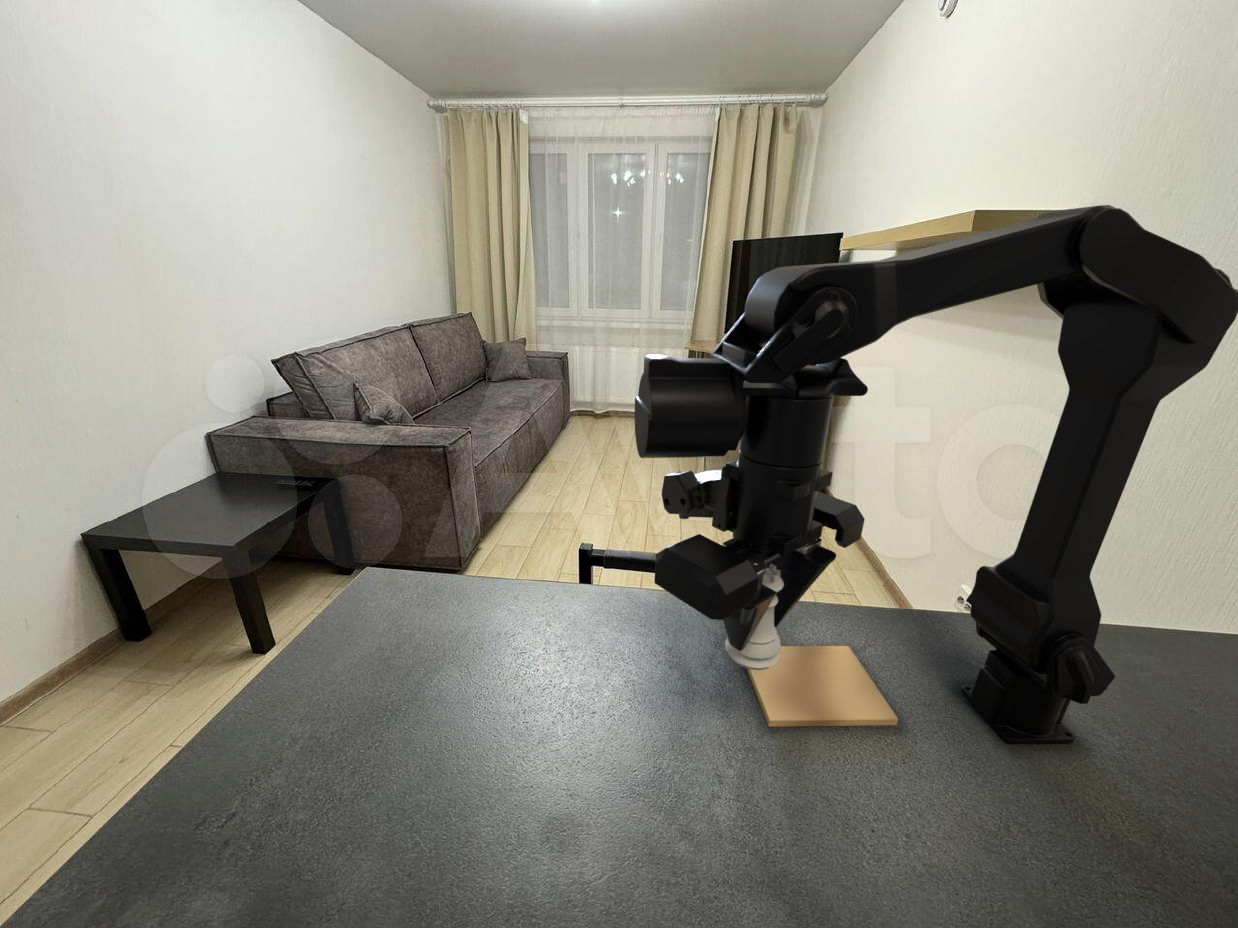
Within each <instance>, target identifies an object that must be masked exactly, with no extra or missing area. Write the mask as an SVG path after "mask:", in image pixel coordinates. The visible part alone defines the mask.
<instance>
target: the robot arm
mask: <svg viewBox="0 0 1238 928" xmlns="http://www.w3.org/2000/svg"><path fill="white" fill-rule="evenodd" d="M1035 285H1036V288H1037V291H1038V295H1039V300H1040V301H1041V303H1043V304H1044V305H1045V306H1046V307H1047V308H1049V309H1050V310H1051V311H1052V312H1053V313H1054V314H1056V315H1057V317H1059V318H1060V319H1061V320H1062V322H1061V328H1060V333H1059V340H1058V346H1057V354H1058V357H1059V360H1060V361H1059V362H1060V363H1061V367H1062V371H1063V373H1064V376H1065V379H1066V382H1067V385H1068V394H1067V397H1066V400H1065V403H1064V406H1063V409H1062V412H1061V414H1060V418H1059V421H1058V424H1057V427H1056V430H1055V433H1054V435H1053V439H1052V441H1051V443H1050V444H1051V445H1050V447H1049V451H1048V454H1047V456H1046V459H1045V462H1044V465H1043V468H1042V471H1041V474H1040V478H1039V480H1038V483H1037V486H1036V490H1035V492H1034V494H1033V497H1032V500H1031V504H1030V507H1029V510H1028V512H1027V513H1028V514H1027V516H1026V519H1025V522H1024V523H1023V528H1022V531H1021V533H1020V536H1019V539H1018V542H1017V546H1016V548H1015V549H1014V552H1013V553H1012V554H1011V555H1010V556H1008V557H1006V558H1005V559H1004V560H1002V561H1000V562H999V563H997V564H995V565H994V566H988V565H982V566H980V567H979V568H978V569H977V571H976V575H975V582H974V586H973V588H972V589H971V593H970V594H969V595H968V597H967V598H966V599H965V602H966V603H968V604H969V605H970V611H969V612H970V613H969V614H970V617H971V618H972V619H973V621H974V622H975V630H976V634H977V636H979V637H980V638H983V639H984V640H985V641H986V642H987V643H989V644H990V645H991V646H992V647H993V648H994V649H990V650H989V651H988V654H987V655H986V656H987V657H986V660H985V663H984V665H981V666H980V668H979V671H978V675H977V677H976V680H975V683H974V684H973V685H972V684H969V685H968V684H964V685H962V686H961V689H960V690H961V693H962V695H964V696H965V697H966V699H967V700H968V701H969V702H970V703H971V704H972V705H973V706H974V708H975V709H976V710H977V711H978V712H979V713H980V715H981V716H982V717H983V718H984V719H985V721H986V722H987V723H988V724H989V725H990V726H991V727H992V728H993V730H994V731H995V732H996V733H997V734H998V735H999V736H1000V737H1001V738H1002V740H1003V741H1005V742H1006V743H1009V744H1063V743H1064V744H1065V743H1067V744H1068V743H1070V744H1071V743H1074V742H1075V739H1076V735H1075V734H1074V733H1073V732H1072V731H1071V730H1070V729H1068V727H1067V726H1066V725H1064V724H1063V723H1062V722H1063V719H1064V718H1065V716H1066V713H1067V710H1068V707H1069V706H1070V704H1071V701H1072V702H1075V703H1077V704H1080V705H1084V704H1085V705H1089V702H1090V700H1091V697H1099V696H1101V695H1102V694H1103V693H1104V692H1105V691H1106V690H1107V689H1108V687H1109V686H1110V685H1111V683H1112V682H1113V681H1114V680H1115V678H1116V675H1115V673H1114V672H1113V671H1112V669H1111V668H1110V666H1109V665H1108V664H1107V662H1106V661H1105V660H1104V658H1103V657H1102V656H1101V654H1100V653H1099V652H1098V650H1097V649H1096V647H1095V645H1096V641H1097V637H1098V634H1099V633H1098V631H1099V628H1100V623H1101V619H1102V612H1101V611H1102V610H1101V609H1100V605H1099V602H1098V599H1097V596H1096V592H1095V589H1094V586H1093V582H1092V580H1091V573H1092V571H1093V568H1094V565H1095V562H1096V560H1097V557H1098V555H1099V552H1100V550H1101V548H1102V545H1103V543H1104V540H1105V537H1106V535H1107V533H1108V531H1109V529H1110V528H1109V527H1110V525H1111V522H1112V520H1113V518H1114V515H1115V513H1116V510H1117V508H1118V505H1119V503H1120V500H1121V498H1122V495H1123V492H1124V490H1125V488H1126V485H1127V482H1128V480H1129V477H1130V475H1131V474H1132V473H1131V472H1132V470H1133V467H1134V465H1135V463H1136V460H1137V457H1138V455H1139V452H1140V450H1141V448H1142V445H1143V442H1144V440H1145V437H1146V435H1147V432H1148V430H1149V429H1150V428H1149V427H1150V426H1151V422H1152V420H1153V417H1154V415H1155V412H1156V410H1157V408H1158V406H1159V404H1160V402H1161V400H1163V399H1165V398H1166V397H1167V396H1168V395H1170V394H1171V393H1173V392H1174V391H1176V390H1178V388H1179V387H1181V386H1182V385H1184V384H1185V383H1187V382H1188V381H1189V380H1190V379H1192V378H1193V377H1195V376H1196V375H1197V374H1199V373H1200V372H1201V371H1203V370H1204V369H1205V368H1206V367H1207V366H1208V365H1209V363H1210V362H1211V360H1212V358H1213V356H1214V354H1215V353H1216V351H1217V350H1218V348H1219V346H1220V344H1221V343H1222V341H1223V339H1224V337H1225V335H1226V334H1227V332H1228V331H1229V329H1230V327H1232V325H1233V323H1234V322H1235V321H1236V318H1237V316H1238V288H1235V287H1233V284H1232V281H1231V279H1230V276H1228V274H1226V272H1224V271H1223V270H1222V269H1220V268H1216V267H1214V266H1213V265H1212V264H1211V263H1210V262H1209V261H1208V260H1207V258H1206V257H1205V256H1203V255H1202V254H1199V253H1198V252H1196V251H1193V250H1191V249H1189V248H1187V247H1185V246H1182V245H1180V244H1178V243H1176V242H1173V241H1171V240H1169V239H1166V238H1165V237H1162V236H1160V235H1158V234H1156V233H1153V232H1151V231H1149V230H1147V229H1145V228H1144V227H1143V226H1142V225H1141V224H1140V223H1139V222H1137V220H1136V219H1135V218H1134V217H1133V216H1132V215H1131V214H1130V213H1129V212H1127V211H1125V210H1124V209H1122V208H1117V207H1115V206H1112V205H1110V204H1101V205H1091V206H1083V207H1075V208H1068V209H1067V208H1066V209H1059V210H1050V211H1046V212H1043V213H1041V214H1040V215H1038V216H1036V217H1034V218H1033V219H1030V220H1027V221H1022V222H1018V223H1015V224H1011V225H1008V226H1003V227H1000V228H996V229H993V230H989V231H985V232H981V233H978V234H974V235H970V236H966V237H962V238H958V239H955V240H951V241H946V242H943V243H938V244H936V245H932V246H928V247H924V248H921V249H917V250H913V251H909V252H905V253H901V254H898V255H895V256H890V257H885V258H883V259H877V260H867V261H866V260H865V261H864V260H863V261H851V262H850V261H849V262H833V263H831V262H830V263H819V264H818V263H817V264H804V265H803V264H802V265H790V266H781V267H780V266H779V267H775V268H773V269H772V270H769V271H767V272H765V273H763V274H762V275H761V276H759V277H758V278H757V280H756V281H755V284H754V285H753V287H752V288H751V290H750V291H749V293H748V296H747V298H746V301H745V305H744V312H743V314H742V315H741V316H740V317H739V319H738V320H737V321H736V322H735V323H734V324H733V326H732V327H731V328H730V329H729V331H728V332H727V333H726V334H725V335H724V337H723V338H722V339H721V341H720V342H719V343H718V344H717V345H716V346H715V348H714V349H713V350H712V351H711V353H710V354H709V358H708V357H707V358H697V357H695V358H693V357H692V358H691V357H688V358H687V357H672V356H669V355H665V354H646V355H645V356H644V359H643V372H642V375H641V377H640V381H639V386H638V392H637V396H635V397H634V435H635V445H636V450H637V453H638V456H639V458H640V459H686V458H687V459H689V458H722V457H725V456H726V455H727V454H728V452H735V451H737V449H738V446H739V451H738V458H737V459H735V460H731V461H729V462H725V464H724V465H723V466H722V468H721V469H711V470H706V471H702V472H697V473H694V472H693V470H686V471H683V472H682V471H681V470H678V471H675V472H672V473H668V474H665V475H663V481H662V482H663V483H662V489H661V499H662V500H661V501H662V504H663V509H664V510H665V511H666V513H668V514H669V515H678V517H679V519H680V520H688V519H690V518H707V519H709V518H710V519H712V520H711V527H713V528H715V529H717V530H719V531H721V532H723V533H724V532H725V533H726V532H731V533H732V537H731V538H730V539H727V540H725V541H723V542H722V544H720V543H718V542H716V541H715V540H712V539H711V538H708V537H706V536H705V535H703V534H701V533H697V534H696V535H693V536H690V537H688V538H686V539H684V540H681V541H679V542H677V543H674V544H672V545H670V546H667V547H664V548H663V549H661V550H660V551H658V552H657V553H656V554H655V564H654V565H655V566H654V580H653V581H654V584H655V585H657V586H658V587H659V588H661V589H662V590H664V591H666V592H668V593H669V594H671V595H672V596H674V597H675V598H676V599H678V600H679V601H681V602H683V603H685V604H686V605H687V606H689V607H691V608H692V609H694V610H695V611H696V612H698V613H699V614H702V615H703V616H704V617H706V618H708V619H709V620H716V621H723V626H724V630H725V632H726V637H727V636H728V639H729V643H730V645H731V646H733V647H734V648H736V649H737V650H739V651H741V650H743V649H744V648H745V646H746V645H747V643H748V641H749V640H750V638H751V637H752V635H753V633H754V631H755V630H756V628H757V626H758V624H759V623H760V621H761V619H762V617H763V616H764V614H765V612H766V610H767V609H768V607H769V605H770V604H771V602H772V600H773V598H774V597H775V595H776V596H777V597H778V603H777V604H776V605H775V608H774V627H775V628H776V629H777V628H778V627H779V626H780V625H781V623H782V621H784V619H785V618H786V617H787V616H788V614H789V613H790V612H791V611H792V609H793V608H794V607H795V606H796V604H797V603H798V602H799V601H800V600H801V599H802V597H803V596H804V595H805V594H806V593H807V591H808V590H809V589H810V588H811V587H812V585H813V584H814V583H815V582H816V580H817V579H818V578H820V577H821V575H822V574H823V573H824V572H825V570H826V569H827V568H828V567H829V565H830V564H832V563H833V562H834V561H835V560H836V558H837V554H836V552H835V551H833V550H831V549H829V548H826V547H824V546H822V543H823V542H822V541H823V539H822V538H821V537H822V534H823V528H824V527H826V528H828V529H831V530H833V531H836V532H835V536H834V541H835V543H836V544H837V546H838V547H842V548H844V549H846V548H848V547H849V546H851V545H853V544H854V543H856V542H858V541H860V540H861V538H862V535H863V529H864V525H865V517H864V515H863V514H862V512H861V511H860V508H859V507H858V506H857V505H856V504H854V503H851V502H848V501H845V500H843V499H840V498H837V497H835V496H831V495H828V494H825V493H823V492H820V491H821V490H823V489H826V488H828V487H831V484H832V478H833V471H829V470H826V469H823V468H822V467H823V462H824V461H823V460H824V454H825V450H826V443H827V437H828V433H829V432H828V431H829V426H830V422H831V421H830V420H831V416H832V415H831V414H832V408H833V403H834V398H835V397H864V396H866V395H867V394H868V391H869V388H868V386H867V385H866V384H865V383H864V382H863V381H862V380H861V378H859V377H858V376H857V375H856V374H855V372H854V371H853V369H852V368H851V366H850V363H849V361H848V360H847V359H846V358H843V357H845V356H848V355H850V354H852V353H855V352H857V351H858V350H861V349H863V348H865V347H868V346H869V345H870V346H871V344H872V345H873V344H874V343H876V342H878V341H879V340H880V339H881V338H882V337H884V336H885V335H886V334H887V333H889V332H890V331H891V330H892V329H893V328H895V327H896V326H898V325H900V324H902V323H904V322H906V321H909V320H911V319H914V318H916V317H921V316H924V315H928V314H931V313H935V312H939V311H943V310H946V309H950V308H954V307H957V306H958V307H959V306H962V305H965V304H969V303H973V302H975V301H979V300H983V299H987V298H991V297H995V296H998V295H1002V294H1005V293H1010V292H1013V291H1017V290H1020V289H1021V290H1022V289H1024V288H1028V287H1032V286H1035ZM808 365H809V366H808ZM770 564H773V565H775V566H776V570H780V573H781V574H780V577H781V579H782V580H783V583H784V586H783V588H782V589H781V590H780V591H779V592H777V593H776V591H774V590H772V589H770V588H768V587H767V586H765V585H763V584H762V582H763V575H764V573H765V572H766V569H767V568H769V566H770Z"/></svg>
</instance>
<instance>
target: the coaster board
mask: <svg viewBox="0 0 1238 928" xmlns="http://www.w3.org/2000/svg"><path fill="white" fill-rule="evenodd" d="M779 651H780V658H779V660H778V662H777V663H776V664H774V665H773V666H771V667H769V668H768V669H764V670H752V669H747V668H745V669H746V671H747V674H748V676H749V678H750V681H751V684H752V688H753V689H754V692H755V695H756V698H757V700H758V702H759V705H760V708H761V710H762V712H763V715H764V719H765V721H766V724H767V725H768V727H769V728H781V727H782V728H783V727H784V728H786V727H787V728H788V727H861V726H862V727H863V726H864V727H865V726H866V727H867V726H898V721H899V717H898V716H897V714H896V713H895V712H894V710H893V708H891V706H890V704H889V703H888V702H887V700H886V698H885V697H884V696H883V694H882V692H881V691H880V690H879V688H878V687H877V685H876V684H875V682H874V681H873V679H872V678H871V676H870V675H869V673H868V672H867V671H866V669H865V668H864V666H863V664H862V663H861V661H860V660H859V659H858V658H857V655H855V653H854V651H853V650H852V648H851V647H850V646H849V645H781V648H780V650H779Z"/></svg>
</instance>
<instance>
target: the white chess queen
mask: <svg viewBox="0 0 1238 928" xmlns="http://www.w3.org/2000/svg"><path fill="white" fill-rule="evenodd" d="M780 574H781V573H780V570H776V566H775V565H773V564H770V566H769V568H767V569H766V572H765V573H764V575H763V582H762V584H763V585H765V586H767V587H768V588H770V589H772V590H774V591H776V593H777V592H779V591H780V590H781V589H782V588H783V586H784V583H783V580H782V579H781V577H780ZM777 603H778V597H777V596H776V595H775V597H774V598H773V600H772V602H771V604H770V605H769V607H768V609H767V610H766V612H765V614H764V616H763V617H762V619H761V621H760V623H759V624H758V626H757V628H756V630H755V631H754V633H753V635H752V637H751V638H750V640H749V641H748V643H747V645H746V646H745V648H744V649H743V650H741V651H739V650H737V649H736V648H734V647H733V646H731V645H730V643H729V639H728V636H727V635H726V637H727V638H726V639H725V641H724V645H725V651H726V652H727V654H728V655H729V657H730V658H731V660H732V661H733V662H734V663H736V664H737V665H738V666H740V667H742V668H745V669H746V668H747V669H752V670H764V669H768V668H769V667H771V666H773V665H774V664H776V663H777V662H778V660H779V658H780V651H779V650H780V648H781V646H782V643H781V638H780V636H779V634H778V631H777V627H776V628H775V627H774V608H775V605H776V604H777ZM747 669H746V670H747Z"/></svg>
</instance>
